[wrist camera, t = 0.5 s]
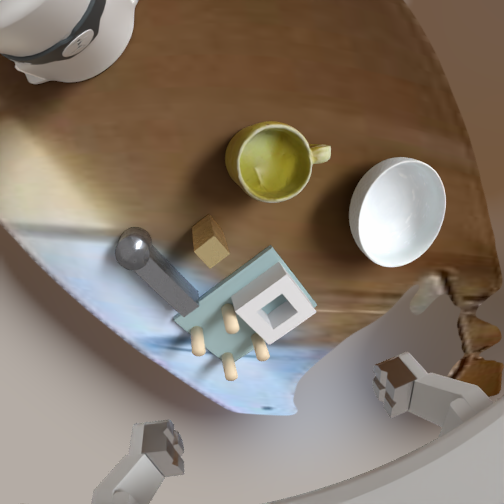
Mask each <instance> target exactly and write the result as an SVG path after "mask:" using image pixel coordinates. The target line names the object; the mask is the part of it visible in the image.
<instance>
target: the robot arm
mask: <svg viewBox="0 0 504 504" xmlns="http://www.w3.org/2000/svg"><path fill="white" fill-rule="evenodd" d="M137 2H138V0H0V54H2V55H3V56H4V57H6V58H8V59H10V60H12V61H14V62H15V64H16V65H15V68H16V69H17V70H18V71H21V72H24V73H25V75H26V77H27V80H28V81H29V82H30V83H32V84H41V83H44V82H47V81H51V80H54V81H60V82H79V81H83V80H86V79H89V78H92V77H94V76H96V75H98V74H100V73H101V72H103V71H104V70H106V69H107V68H108V67H109V66H111V65H112V64H113V63H114V62H115V61H116V60H117V59H118V58H119V56H120V55H121V54H122V52H123V51H124V49H125V48H126V46H127V44H128V42H129V40H130V38H131V35H132V31H133V26H134V9H135V6H136V4H137ZM373 372H374V374H375V375H376V376H375V378H374V379H373V389H374V392H375V395H376V397H377V398H378V400H380V401H382V402H384V409H385V410H386V412H387V413H388V415H389V416H390V418H392V417H394V416H397V415H399V414H402V413H404V412H406V411H409V412H411V413H413V414H415V415H417V416H419V417H421V418H424V419H426V420H428V421H430V422H432V423H434V424H436V425H438V426H441V427H442V430H441V432H440V435H439V437H438V438H437V439H435V440H433V441H431V442H430V443H428V444H426V445H424V446H422V447H420V448H418V449H416V450H414V451H412V452H410V453H408V454H406V455H404V456H402V457H400V458H398V459H396V460H394V461H391V462H389V463H387V464H385V465H382V466H380V467H378V468H375V469H373V470H370V471H368V472H366V473H363V474H360V475H358V476H355V477H353V478H350V479H347V480H344V481H342V482H339V483H336V484H333V485H330V486H327V487H324V488H321V489H318V490H314V491H311V492H307V493H304V494H300V495H297V496H293V497H289V498H286V499H281V500H277V501H273V502H269V503H264V504H504V395H503V396H502V397H500V398H499V399H497V400H496V401H495V402H492V401H491V399H490V398H489V397H488V396H487V395H486V394H485V393H484V392H483V391H482V390H481V389H480V388H479V387H478V386H477V385H473V384H469V383H466V382H462V381H459V380H455V379H451V378H448V377H444V376H441V375H438V374H434V373H430V374H428V373H427V372H426V371H425V370H424V369H423V367H422V366H421V365H420V364H419V363H418V362H417V361H416V360H415V359H414V358H413V356H412V355H411V354H410V353H409V352H405V353H402V354H400V355H398V356H396V357H393V358H390V359H388V360H386V361H383V362H381V363H378V364H376V365H375V366H374V368H373ZM183 453H184V447H183V442H182V439H181V436H180V434H179V432H177V431H175V430H174V424H173V423H172V421H171V420H164V421H155V422H146V423H136V424H134V426H133V428H132V435H131V441H130V448H129V455H125V456H124V457H123V458H122V459H121V460H120V462H119V463H118V464H117V465H116V466H115V467H114V468H113V469H112V471H111V472H110V473H109V474H108V475H107V476H106V477H105V478H104V479H103V481H102V482H101V483H100V484H99V485H98V486H97V487H96V488H95V489H94V491H93V498H92V504H149V503H150V501H151V500H152V498H153V496H154V495H155V493H156V491H157V490H158V488H159V487H160V485H161V483H162V482H163V480H164V477H169V476H177V475H183V474H184V461H183V459H182V458H181V456H182V454H183Z"/></svg>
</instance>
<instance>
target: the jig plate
mask: <svg viewBox="0 0 504 504" xmlns="http://www.w3.org/2000/svg"><path fill="white" fill-rule="evenodd" d="M199 305H200V306H199V307H198V308H196V309H195V310H194V311H192V312H191V313H190V314H188V315H187V316H185V317H183V316H182V315H181V314H179V313H178V314H177V315H176V316H174V321H175V322H176V323H177V324H178V325H180V326H181V327H182V328H183V329H184V330H185V331H187V332H188V333H189V334H190V335H191V344H192V353H193V354H194V355H195V356H202V355H204V354H205V347H206V348H207V349H208V350H209V351H211V352H212V353H213V354H214V355H216V356H217V357H218V358H219V359H221V360H222V362H223V368H224V373H225V378H226V380H228V381H233V380H235V379H237V377H238V375H237V371H236V367H235V361H237V360H238V359H240V358H241V357H243V356H244V355H246V354H248V353H249V352H251V351H252V350H255V353H256V356H257V359H258V360H259V361H265V360H267V359H268V358H269V356H270V355H269V352H268V349H267V347H266V344H265V342H267V343H268V344H269V345H270V344H271V343H273V342H274V341H276V340H277V339H279V338H280V337H282V336H283V335H285V334H286V333H288V332H289V331H291V330H292V329H293V328H295V327H296V326H298V325H299V324H301V323H302V322H303V321H305V320H306V319H308V318H309V317H310V316H312V315H313V314H315V313H316V310H315V309H314V307H316V306H317V304H316V303H315V301H314V300H313V299H312V297H311V296H310V295H309V294H308V292H307V291H306V290H305V288H304V287H303V286H302V284H301V283H300V282H299V281H298V279H297V278H296V277H295V275H294V274H293V273H292V272H291V270H290V269H289V268H288V266H287V265H286V264H285V262H284V261H283V260H282V259H281V257H280V256H279V255H278V254H277V252H276V251H275V250H274V248H273V247H272V246H271V245H270V246H268V247H267V248H266V249H264V250H263V251H262V252H260V253H259V254H258V255H256V256H255V257H254V258H252V259H251V260H250V261H248V262H247V263H246V264H244V265H243V266H242V267H240V268H239V269H238V270H236V271H235V272H234V273H232V274H231V275H230V276H228V277H227V278H225V279H224V280H223V281H221V282H220V283H219V284H217V285H216V286H215V287H213V288H212V289H211V290H209V291H208V292H207V293H205V294H204V295H203V296H201V297H200V298H199Z"/></svg>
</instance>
